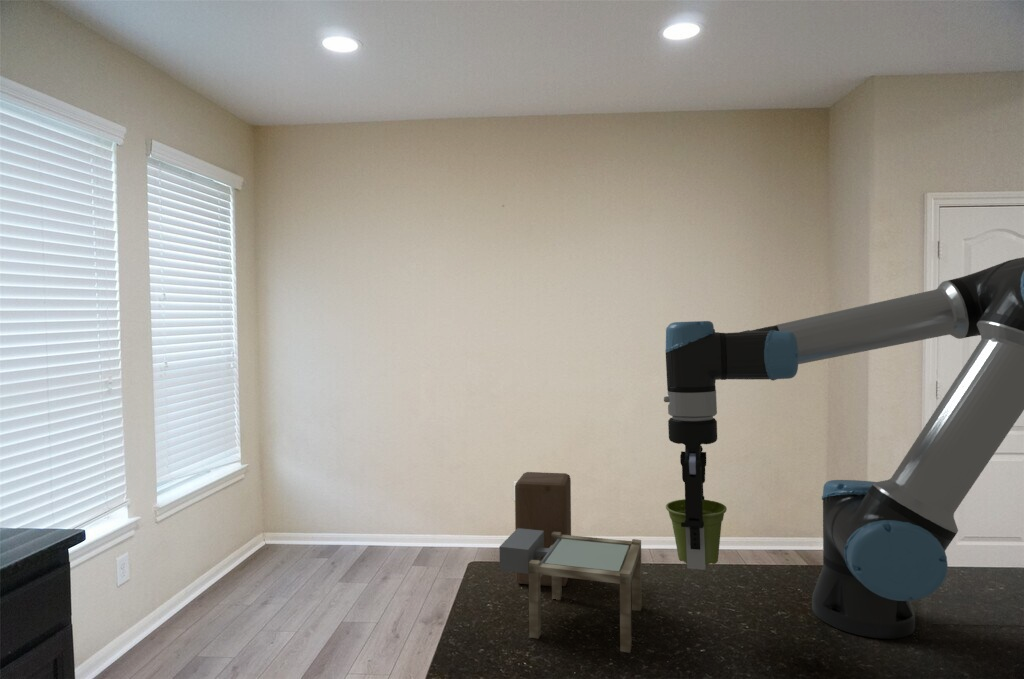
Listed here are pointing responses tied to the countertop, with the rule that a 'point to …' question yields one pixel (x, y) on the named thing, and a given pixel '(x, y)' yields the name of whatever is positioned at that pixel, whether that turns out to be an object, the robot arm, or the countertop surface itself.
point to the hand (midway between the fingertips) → (696, 557)
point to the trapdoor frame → (623, 578)
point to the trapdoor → (559, 553)
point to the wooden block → (543, 510)
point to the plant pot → (712, 528)
